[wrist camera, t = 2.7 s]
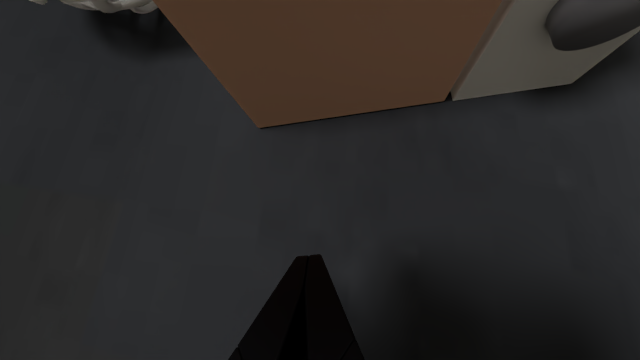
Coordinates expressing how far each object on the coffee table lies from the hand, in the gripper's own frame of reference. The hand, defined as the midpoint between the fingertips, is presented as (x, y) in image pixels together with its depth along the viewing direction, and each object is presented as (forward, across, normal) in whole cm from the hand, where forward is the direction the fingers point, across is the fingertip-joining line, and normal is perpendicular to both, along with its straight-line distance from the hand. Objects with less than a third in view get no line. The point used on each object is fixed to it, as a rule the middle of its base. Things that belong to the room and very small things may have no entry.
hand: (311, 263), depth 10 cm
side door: (+16, -2, 0) cm, 16 cm away
